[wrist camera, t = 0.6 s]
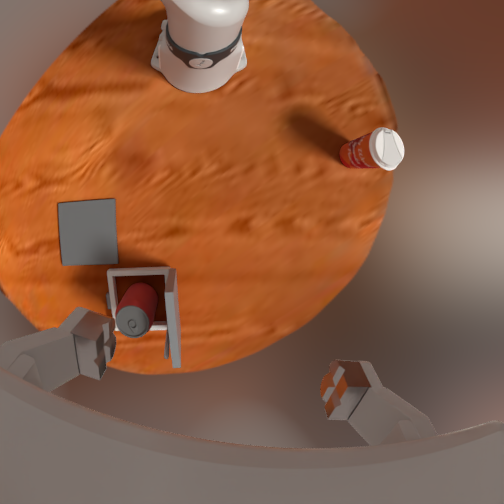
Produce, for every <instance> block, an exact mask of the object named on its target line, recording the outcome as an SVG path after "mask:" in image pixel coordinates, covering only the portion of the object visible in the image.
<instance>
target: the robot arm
mask: <svg viewBox="0 0 504 504" xmlns="http://www.w3.org/2000/svg"><path fill="white" fill-rule="evenodd" d="M161 2H162V3H163V4H164V6H165V8H166V12H167V18H168V19H167V20H163V22H162V25H161V30H163V31H162V33H161V34H160V36H159V41H158V43H157V46H156V48H155V51H154V54H153V56H152V59H151V66H152V67H153V68H154V69H156V70H158V71H160V72H161V73H163V75H164V76H165V77H166V79H167V80H168V81H169V82H170V83H171V84H172V85H173V86H174V87H176V88H178V89H180V90H183V91H186V92H191V93H204V92H209V91H212V90H215V89H217V88H219V87H221V86H222V85H224V84H225V83H226V82H227V81H228V80H229V79H230V78H231V76H232V75H233V74H234V73H236V72H238V71H240V70H242V69H244V68H245V67H246V65H247V60H246V55H245V51H244V46H243V42H242V38H241V34H242V24H243V21H244V19H245V16H246V14H247V11H248V8H249V0H161ZM158 56H159V58H157V57H158ZM115 328H116V324H115V319H114V318H113V317H110V316H106V315H103V314H100V313H97V312H94V311H91V310H88V309H85V308H82V307H77V308H76V309H75V310H74V311H73V312H72V313H71V314H70V315H69V316H68V317H67V319H66V320H65V321H64V322H63V323H62V324H61V325H60V326H59V327H58V328H55V327H54V328H51V329H47V330H44V331H41V332H37V333H34V334H31V335H27V336H24V337H21V338H18V339H14V340H11V341H7V342H4V343H3V344H2V346H0V504H504V423H503V422H500V421H497V420H495V421H490V422H487V423H484V424H481V425H477V426H474V427H471V428H467V429H463V430H459V431H456V432H451V433H447V434H443V435H438V434H437V433H436V431H435V429H434V427H433V425H432V424H431V422H430V420H429V418H428V417H427V416H426V415H424V414H423V413H421V412H420V411H419V410H417V409H416V408H414V407H413V406H411V405H410V404H409V403H407V402H406V401H404V400H403V399H402V398H400V397H399V396H397V395H396V394H394V393H393V392H391V391H390V390H389V389H387V388H383V386H382V384H381V382H380V380H379V378H378V376H377V374H376V373H375V371H374V369H373V367H372V365H371V363H369V362H368V361H367V362H366V361H344V360H333V361H332V362H331V364H330V366H329V369H330V373H328V374H327V375H325V376H324V378H323V380H322V383H321V389H320V390H321V397H322V399H323V400H324V401H325V402H326V405H325V407H324V408H325V411H326V415H327V418H328V420H329V419H331V420H348V422H349V423H350V424H351V426H353V428H355V430H357V432H358V433H359V434H360V435H361V436H362V437H363V438H364V439H365V440H366V441H367V442H368V443H369V444H370V446H363V447H349V448H321V449H320V448H315V449H314V448H307V449H306V448H278V447H263V446H252V445H242V444H233V443H225V442H219V441H212V440H206V439H200V438H194V437H189V436H184V435H179V434H174V433H170V432H165V431H161V430H157V429H153V428H149V427H146V426H142V425H138V424H134V423H131V422H127V421H125V420H121V419H118V418H115V417H112V416H109V415H106V414H103V413H100V412H97V411H94V410H92V409H88V408H86V407H83V406H81V405H78V404H76V403H73V402H71V401H69V400H66V399H64V398H61V397H59V396H57V395H55V394H52V393H50V391H52V390H54V389H55V388H57V387H59V386H60V385H62V384H64V383H66V382H68V381H69V380H71V379H73V378H75V377H76V376H78V375H79V374H83V375H85V376H89V377H92V378H95V379H98V380H101V378H102V376H103V374H104V372H105V370H106V363H107V362H109V361H111V359H112V357H113V355H114V352H115V348H116V337H115V335H114V334H113V331H114V330H115Z"/></svg>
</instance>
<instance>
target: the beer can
mask: <svg viewBox="0 0 504 504" xmlns="http://www.w3.org/2000/svg"><path fill="white" fill-rule="evenodd" d="M157 304H158V296H157V293H156V291H155V290H154V289H153V287H151V286H150V285H148V284H146V283H135V284H132V285H131V286H130V287H129V288H128V290H127V291H126V293H125V294H124V296H123V298H122V300H121V301H120V303H119V305H118V306H117V308H116V312H115V318H116V319H115V320H116V325H117V328H118V330H119V331H120V332H121V333H122V334H124V335H125V336H127V337H130V338H139V337H142V336H143V335H144V334H146V332H148V331H149V330H150V328H151V327H152V325H153V321H154V317H155V313H156V308H157Z"/></svg>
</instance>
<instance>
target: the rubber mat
mask: <svg viewBox="0 0 504 504" xmlns="http://www.w3.org/2000/svg"><path fill="white" fill-rule="evenodd" d="M58 211H59V231H60V244H61V255H62V264H63V266H68V265H98V264H118V263H119V262H118V249H117V233H116V207H115V199H105V200H92V201H79V202H68V203H58Z"/></svg>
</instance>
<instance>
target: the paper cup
mask: <svg viewBox="0 0 504 504" xmlns="http://www.w3.org/2000/svg"><path fill="white" fill-rule="evenodd" d="M339 156H340V160H341V162H342V163H343V165H345V166H346V167H348V168H384V169H386V170H393V169H395V168H396V167H397V165H398V164H399V163H400V162H401V161H402V159H403V157H404V146H403V143H402V140H401V139H400V137H399V135H398V134H397V133H396V132H394V131H393V130H389V129H387V128H383V127H382V128H378V129H376V130H375V131H373V132H371V133H369V134H367V135H364V136H362V137H360V138H357V139H355V140H352V141H350V142H348V143H346V144H344V145H343V146H342V147H341V149H340V152H339Z"/></svg>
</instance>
